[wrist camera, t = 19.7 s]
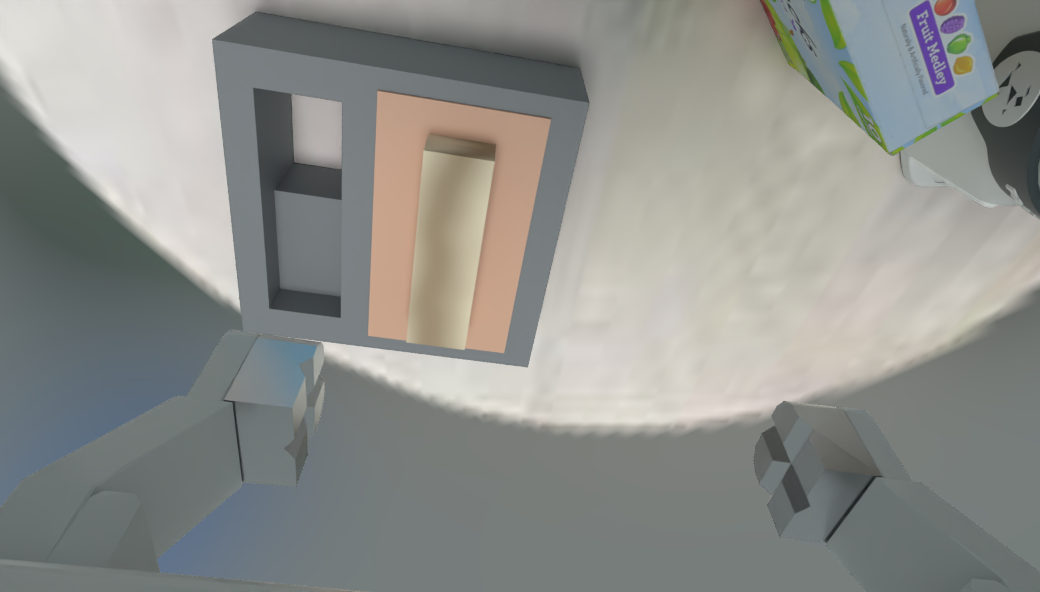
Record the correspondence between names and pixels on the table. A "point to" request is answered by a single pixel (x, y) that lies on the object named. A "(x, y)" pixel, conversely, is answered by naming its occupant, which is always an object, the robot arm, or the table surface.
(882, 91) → the snack box
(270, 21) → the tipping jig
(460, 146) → the maple bar
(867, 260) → the table surface
